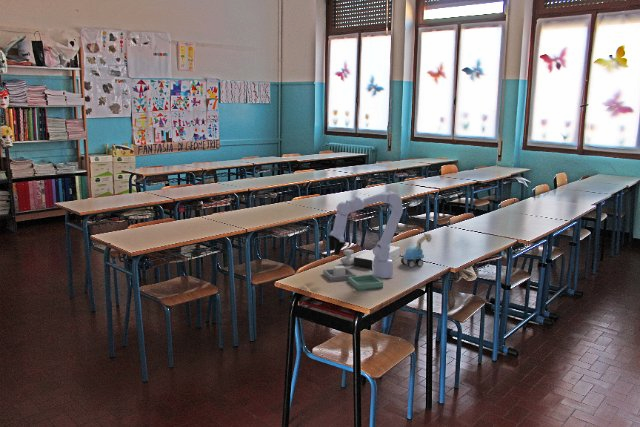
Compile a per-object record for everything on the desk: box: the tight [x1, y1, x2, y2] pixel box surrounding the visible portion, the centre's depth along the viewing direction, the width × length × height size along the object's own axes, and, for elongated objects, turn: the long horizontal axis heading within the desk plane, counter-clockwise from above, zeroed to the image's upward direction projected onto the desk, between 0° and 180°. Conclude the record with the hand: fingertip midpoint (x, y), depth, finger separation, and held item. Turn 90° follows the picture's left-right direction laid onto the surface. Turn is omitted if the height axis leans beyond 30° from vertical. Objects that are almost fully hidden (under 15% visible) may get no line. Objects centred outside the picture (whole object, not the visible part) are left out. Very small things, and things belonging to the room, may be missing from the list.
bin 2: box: [347, 274, 384, 292], centre depth 272 cm, size 13×13×3 cm
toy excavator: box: [400, 232, 432, 268], centre depth 307 cm, size 9×17×17 cm, turn 112°
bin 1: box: [322, 267, 357, 283], centre depth 284 cm, size 13×13×3 cm
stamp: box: [340, 248, 355, 266], centre depth 307 cm, size 9×7×8 cm
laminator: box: [353, 245, 401, 272], centre depth 313 cm, size 34×12×6 cm, turn 146°
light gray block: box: [332, 265, 346, 276], centre depth 283 cm, size 5×4×5 cm
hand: (333, 252), depth 280 cm, fingers open, 7 cm apart
